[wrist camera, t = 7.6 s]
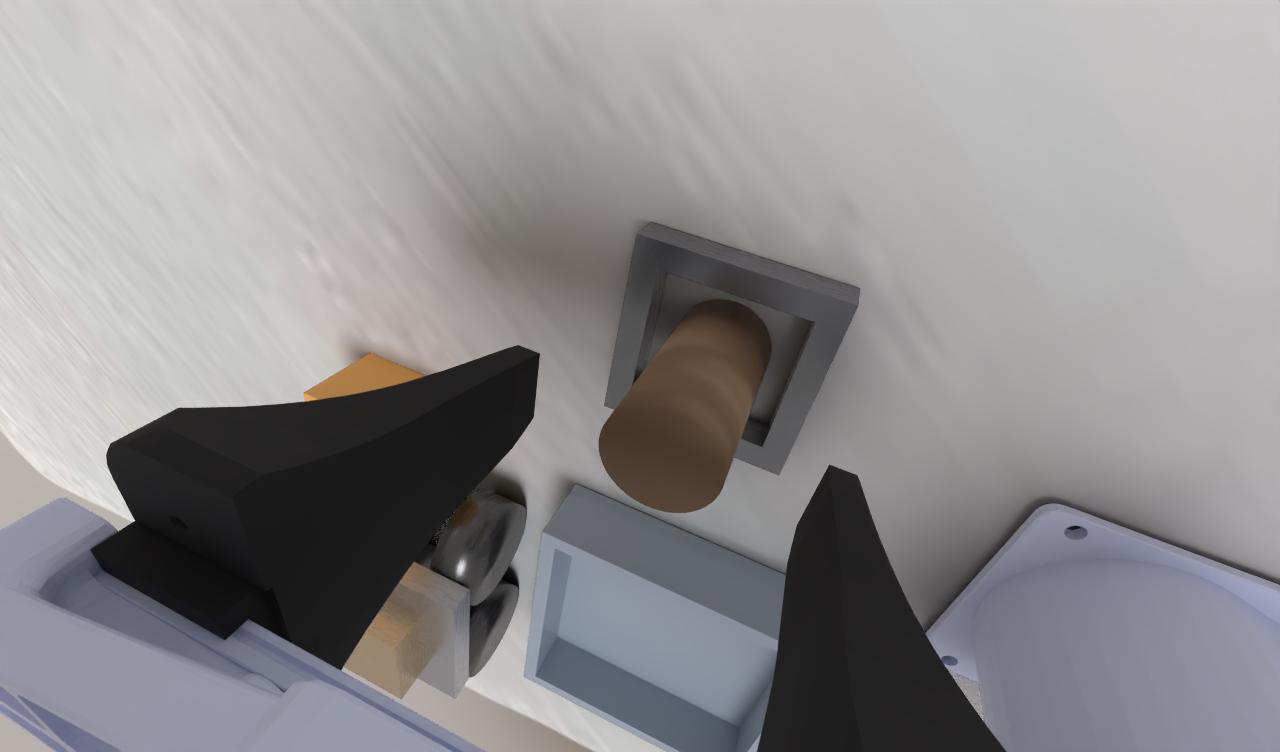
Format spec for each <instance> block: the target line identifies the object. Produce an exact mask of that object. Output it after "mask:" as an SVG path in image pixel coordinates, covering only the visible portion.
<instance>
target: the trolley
mask: <svg viewBox="0 0 1280 752" xmlns="http://www.w3.org/2000/svg"><path fill="white" fill-rule="evenodd" d="M525 523H526V509H525V507H524V506H522V505H520V504H518V503H515V502H513V501H511V500H509V499H506V498H504V497H502V496H500V495H498V494H495V493H493V492H491V491H489V490H486V489H482V490H479V491H477V492H475V493H474V494H473V495H471V496H470V497H469V498H468V499H467V500H466V501H465V502H464V503H463V504H462V505H461V506H460V507H459V509H458V510H457V511H456V512H455V514H454V515H453V517H452V518H451V520H450V521H449V523H448V524H447V526H446V528H445V529H444V531H443V533H442V535H441V537H440V539H439V541H438V544H437V546H436V547H435V546H433V545H431V544H429V543H428V544H427V545H426V546H425V547H424V549H423V550H422V551H421V553H420V554H419V555H418V557H417V558H416V560H415V561H414V562H413V564H412V565H411V567H410V568H409V569H408V571H407V572H406V573H405V575H404V576H403V578H402V579H401V580H400V582H399V583H398V585H397V586H396V587H395V589H394V590H393V592H392V593H391V595H390V596H389V598H388V599H387V601H386V602H385V604H384V605H383V607H382V608H381V609H380V611H379V612H378V614H377V615H376V617H375V618H374V620H373V621H372V623H371V624H370V626H369V627H368V629H367V630H366V632H365V633H364V635H363V637H362V638H361V640H360V641H359V643H358V644H357V646H356V648H355V649H354V651H353V652H352V654H351V655H350V657H349V659H348V660H347V662H346V663H345V665H344V666H343V667H345V668H347V669H349V670H351V671H352V672H354V673H356V674H357V675H359V676H361V677H363V678H365V679H366V680H368V681H370V682H372V683H373V684H375V685H377V686H379V687H380V688H382V689H384V690H386V691H388V692H389V693H391V694H393V695H395V696H396V697H398V698H400V699H402V698H403V697H404V695H405V694H406V692H407V691H408V690H409V688H410V687H411V686H412V684H413V683H414V682H415V680H416V679H417V678H418V679H420V680H422V681H424V682H426V683H428V684H429V685H431V686H433V687H435V688H437V689H439V690H440V691H442V692H444V693H446V694H448V695H450V696H451V697H453V698H456V697H457V695H458V693H459V692H460V691H461V689H462V688H463V686H464V684H465V683H466V681H467V680H468V678H469V677H473V676H475V675H476V674H477V673H478V672H479V671H480V670H481V669H482V668H483V667H484V666H485V664H486V663H487V662H488V660H489V659H490V657H491V656H492V654H493V653H494V651H495V650H496V648H497V646H498V645H499V643H500V641H501V639H502V637H503V636H504V634H505V632H506V629H507V627H508V625H509V623H510V621H511V618H512V616H513V613H514V610H515V607H516V604H517V600H518V595H519V590H518V587H517V586H515V585H513V584H511V583H509V582H507V581H505V580H503V579H502V577H503V575H504V574H505V572H506V570H507V569H508V567H509V565H510V563H511V561H512V559H513V557H514V555H515V553H516V551H517V548H518V546H519V543H520V541H521V538H522V535H523V532H524V528H525Z"/></svg>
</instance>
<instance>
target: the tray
mask: <svg viewBox="0 0 1280 752" xmlns="http://www.w3.org/2000/svg"><path fill="white" fill-rule="evenodd" d="M785 578H786V575H784V574H782V573H780V572H778V571H775V570H773V569H771V568H768V567H766V566H764V565H761V564H759V563H757V562H755V561H752V560H750V559H748V558H745V557H743V556H741V555H738V554H736V553H734V552H732V551H729V550H727V549H725V548H722V547H720V546H718V545H716V544H713V543H711V542H709V541H706V540H704V539H702V538H699V537H697V536H695V535H693V534H690V533H688V532H686V531H683V530H681V529H679V528H676V527H674V526H672V525H670V524H667V523H665V522H663V521H660V520H658V519H656V518H654V517H651V516H649V515H647V514H644V513H642V512H640V511H637V510H635V509H633V508H631V507H628V506H626V505H624V504H621V503H619V502H617V501H614V500H612V499H610V498H608V497H605V496H603V495H601V494H598V493H596V492H594V491H592V490H589V489H587V488H585V487H582V486H580V485H578V484H575V486H574V487H573V489H572V490H571V492H570V493H569V494H568V496H567V497H566V499H565V500H564V501H563V503H562V504H561V506H560V507H559V509H558V510H557V511H556V513H555V514H554V516H553V517H552V519H551V520H550V521H549V523H548V524H547V526H546V527H545V528H544V530H543V531H542V537H541V545H540V553H539V561H538V568H537V576H536V584H535V592H534V599H533V607H532V615H531V623H530V631H529V638H528V646H527V654H526V662H525V670H524V677H525V678H527V679H529V680H531V681H533V682H535V683H537V684H539V685H541V686H542V687H544V688H546V689H548V690H550V691H552V692H554V693H556V694H558V695H560V696H562V697H563V698H565V699H567V700H569V701H571V702H573V703H575V704H577V705H579V706H581V707H582V708H584V709H586V710H588V711H590V712H592V713H594V714H596V715H598V716H600V717H601V718H603V719H605V720H607V721H609V722H611V723H613V724H615V725H617V726H619V727H621V728H622V729H624V730H626V731H628V732H630V733H632V734H634V735H636V736H638V737H640V738H641V739H643V740H645V741H647V742H649V743H651V744H653V745H655V746H657V747H659V748H660V749H662V750H664V751H666V752H757V749H758V745H759V740H760V736H761V732H762V727H763V723H764V719H765V714H766V709H767V705H768V700H769V696H770V691H771V687H772V682H773V677H774V671H775V664H776V658H777V649H778V640H779V631H780V622H781V613H782V604H783V595H784V587H785Z"/></svg>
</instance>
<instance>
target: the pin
mask: <svg viewBox="0 0 1280 752" xmlns="http://www.w3.org/2000/svg"><path fill="white" fill-rule="evenodd" d="M770 356H771V339H770V336H769V332H768V330H767V328H766V326H765V325H764V323H763V321H762V320H761V319H760V318H759V317H758V316H757V315H756V314H755V313H754V312H753V311H751V310H750V309H749V308H747V307H745V306H743V305H741V304H739V303H736V302H733V301H728V300H710V301H706V302H703V303H700V304H698V305H696V306H695V307H693V308H692V309H690V310H689V311H688V312H687V313H686V314H685V316H684V317H683V318H682V320H681V321H680V322H679V324H678V325H677V326H676V328H675V329H674V331H673V332H672V333H671V335H670V336H669V337H668V339H667V340H666V341H665V343H664V344H663V345H662V347H661V348H660V349H659V351H658V352H657V353H656V355H655V356H654V358H653V359H652V360H651V362H650V363H649V364H648V366H647V367H646V368H645V370H644V371H643V372H642V374H641V375H640V376H639V378H638V379H637V381H636V382H635V383H634V385H633V386H632V387H631V389H630V390H629V391H628V393H627V394H626V395H625V397H624V398H623V399H622V401H621V402H620V403H619V405H618V406H617V408H616V409H615V410H614V412H613V413H612V414H611V416H610V417H609V418H608V420H607V421H606V422H605V424H604V426H603V428H602V430H601V433H600V436H599V452H600V457H601V460H602V463H603V465H604V467H605V469H606V471H607V473H608V474H609V476H610V477H611V479H612V480H613V481H614V482H615V484H616V485H617V486H618V487H619V488H620V489H621V490H623V491H624V492H625V493H626V494H627V495H629V496H630V497H631V498H633V499H635V500H636V501H638V502H640V503H642V504H644V505H646V506H648V507H651V508H653V509H657V510H660V511H665V512H671V513H686V512H693V511H696V510H699V509H701V508H704V507H706V506H707V505H709V504H710V503H712V502H713V501H714V500H715V499H716V498H717V496H718V495H719V494H720V492H721V490H722V488H723V485H724V483H725V480H726V477H727V474H728V472H729V469H730V466H731V464H732V461H733V458H734V455H735V453H736V450H737V447H738V444H739V442H740V439H741V436H742V433H743V431H744V428H745V425H746V422H747V420H748V417H749V414H750V412H751V409H752V406H753V403H754V401H755V398H756V395H757V392H758V390H759V387H760V384H761V381H762V379H763V376H764V373H765V370H766V368H767V365H768V362H769V359H770Z"/></svg>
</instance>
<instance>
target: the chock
mask: <svg viewBox="0 0 1280 752" xmlns="http://www.w3.org/2000/svg"><path fill="white" fill-rule="evenodd" d="M424 376H425V375H423V374H420V373H418V372H415V371H413V370H411V369H408V368H406V367H403V366H401V365H398V364H396V363H394V362H391V361H389V360H386V359H384V358H382V357H379V356H377V355H374V354H372V353H370V354H368V355H366V356H365V357H363V358H361V359H360V360H358V361H356V362H355V363H353V364H351V365H350V366H348V367H346V368H344V369H343V370H341V371H339V372H338V373H336V374H334V375H333V376H331V377H329V378H328V379H326V380H324V381H323V382H321V383H319V384H317V385H316V386H314V387H312V388H311V389H309V390H307V391H306V392H304V398H305V401H312V400H319V399H326V398H332V397H339V396H346V395H351V394H357V393H362V392H366V391H371V390H376V389H381V388H385V387H389V386H393V385H397V384H401V383H404V382H408V381H411V380H414V379H418V378H421V377H424Z"/></svg>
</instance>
